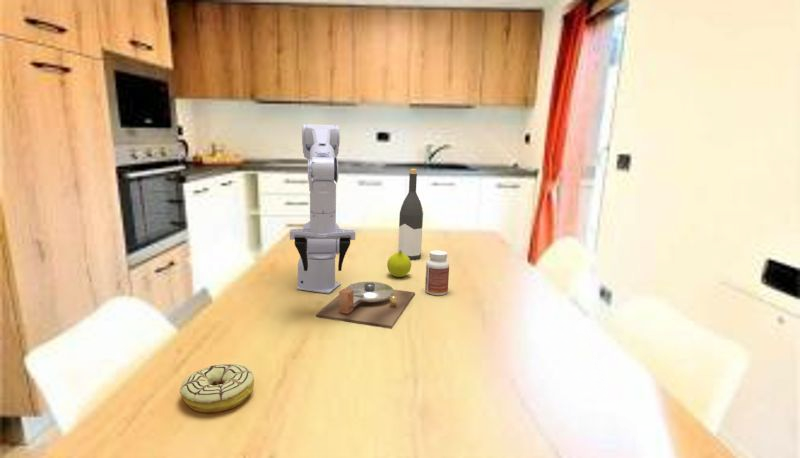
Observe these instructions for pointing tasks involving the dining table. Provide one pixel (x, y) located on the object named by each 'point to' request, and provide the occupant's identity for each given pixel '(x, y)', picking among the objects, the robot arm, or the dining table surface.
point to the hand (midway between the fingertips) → (322, 269)
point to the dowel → (393, 301)
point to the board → (370, 311)
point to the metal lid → (363, 294)
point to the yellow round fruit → (399, 264)
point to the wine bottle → (411, 221)
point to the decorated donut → (217, 387)
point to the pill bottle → (437, 273)
